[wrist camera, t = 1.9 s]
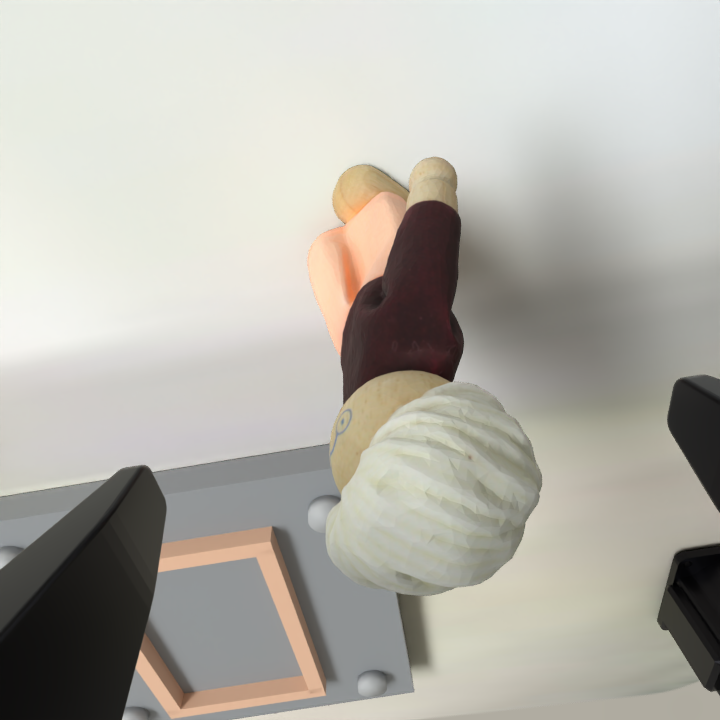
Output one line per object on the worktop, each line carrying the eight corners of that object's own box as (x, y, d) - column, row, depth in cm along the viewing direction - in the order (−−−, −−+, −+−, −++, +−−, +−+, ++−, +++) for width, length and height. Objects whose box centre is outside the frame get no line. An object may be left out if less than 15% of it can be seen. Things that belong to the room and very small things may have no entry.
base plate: (368, 437, 21) (373, 475, 19) (410, 665, 30) (416, 707, 28) (-43, 504, 21) (-80, 548, 19) (121, 709, 30) (107, 753, 28)
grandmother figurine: (302, 130, 15) (246, 290, 4) (428, 130, 15) (704, 281, 4) (312, 352, 19) (299, 744, 8) (413, 349, 19) (536, 726, 8)
